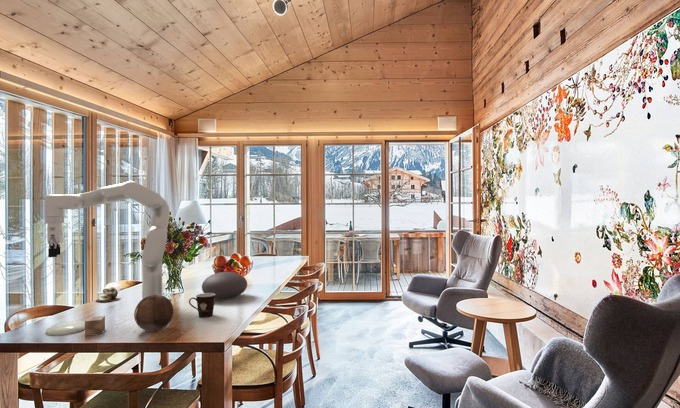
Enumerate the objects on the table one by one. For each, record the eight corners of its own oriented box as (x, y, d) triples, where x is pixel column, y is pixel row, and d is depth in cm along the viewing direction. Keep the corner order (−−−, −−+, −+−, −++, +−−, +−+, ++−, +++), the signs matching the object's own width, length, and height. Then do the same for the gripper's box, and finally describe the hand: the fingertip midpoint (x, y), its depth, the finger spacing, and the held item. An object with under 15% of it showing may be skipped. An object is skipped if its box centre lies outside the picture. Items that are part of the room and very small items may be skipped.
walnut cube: (104, 329, 165) (104, 315, 165) (101, 334, 160) (101, 319, 160) (88, 331, 163) (88, 317, 163) (84, 335, 158) (84, 321, 158)
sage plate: (92, 322, 176) (92, 320, 176) (83, 332, 161) (83, 329, 161) (53, 326, 170) (53, 323, 170) (40, 337, 156) (40, 334, 156)
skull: (109, 301, 211) (99, 287, 212) (98, 313, 213) (88, 298, 214) (127, 295, 222) (116, 282, 224) (116, 306, 224) (106, 293, 226)
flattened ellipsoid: (202, 295, 228) (202, 270, 228) (245, 292, 236) (245, 267, 236) (200, 305, 205) (200, 277, 205) (248, 301, 212) (248, 274, 212)
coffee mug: (219, 314, 187) (219, 293, 187) (206, 319, 180) (205, 297, 180) (201, 311, 192) (200, 291, 192) (187, 316, 184) (187, 295, 185)
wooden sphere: (174, 323, 173) (174, 290, 174) (171, 333, 159) (171, 297, 159) (137, 327, 169) (137, 292, 169) (131, 338, 154) (130, 300, 155)
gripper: (61, 220, 179) (61, 257, 179) (66, 219, 194) (66, 253, 194) (40, 221, 175) (41, 258, 175) (48, 219, 191) (48, 254, 191)
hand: (54, 255), depth 185 cm, fingers open, 9 cm apart
